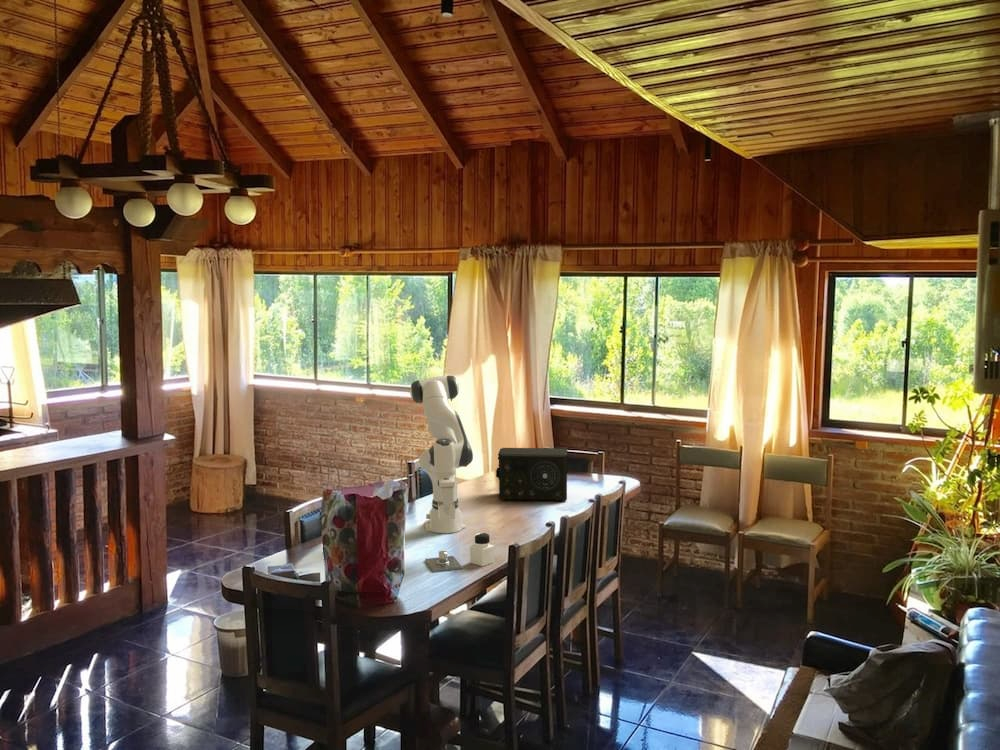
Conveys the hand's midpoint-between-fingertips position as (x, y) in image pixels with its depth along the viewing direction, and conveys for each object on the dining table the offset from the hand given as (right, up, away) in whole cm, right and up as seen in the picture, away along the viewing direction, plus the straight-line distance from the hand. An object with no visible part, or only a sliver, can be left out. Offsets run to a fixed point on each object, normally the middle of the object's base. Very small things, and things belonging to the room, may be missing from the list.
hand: (446, 511), depth 358 cm
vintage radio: (+39, -9, +100) cm, 108 cm away
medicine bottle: (+15, -21, -2) cm, 26 cm away
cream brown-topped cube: (0, -2, 0) cm, 2 cm away
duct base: (-1, -21, -4) cm, 21 cm away
